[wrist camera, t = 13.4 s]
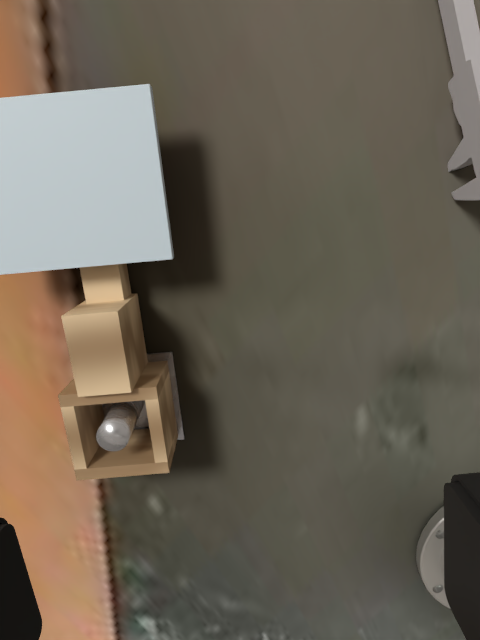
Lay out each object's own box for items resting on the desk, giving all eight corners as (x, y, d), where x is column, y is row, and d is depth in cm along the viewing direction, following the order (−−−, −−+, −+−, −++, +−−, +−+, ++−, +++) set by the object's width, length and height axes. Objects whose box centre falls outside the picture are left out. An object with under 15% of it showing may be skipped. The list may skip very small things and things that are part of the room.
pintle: (184, 438, 32) (175, 480, 27) (92, 445, 32) (67, 489, 27) (172, 351, 30) (160, 380, 25) (74, 359, 30) (44, 390, 25)
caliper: (466, 195, 28) (531, 195, 22) (449, 200, 28) (509, 201, 22) (418, -199, 22) (488, -349, 16) (397, -192, 22) (459, -338, 16)
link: (178, 435, 32) (167, 477, 27) (98, 442, 32) (73, 485, 27) (142, 183, 27) (122, 178, 22) (48, 191, 27) (8, 189, 22)
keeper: (180, 250, 28) (172, 259, 24) (16, 265, 28) (-18, 276, 24) (162, 100, 25) (149, 84, 22) (-19, 117, 26) (-63, 103, 22)
